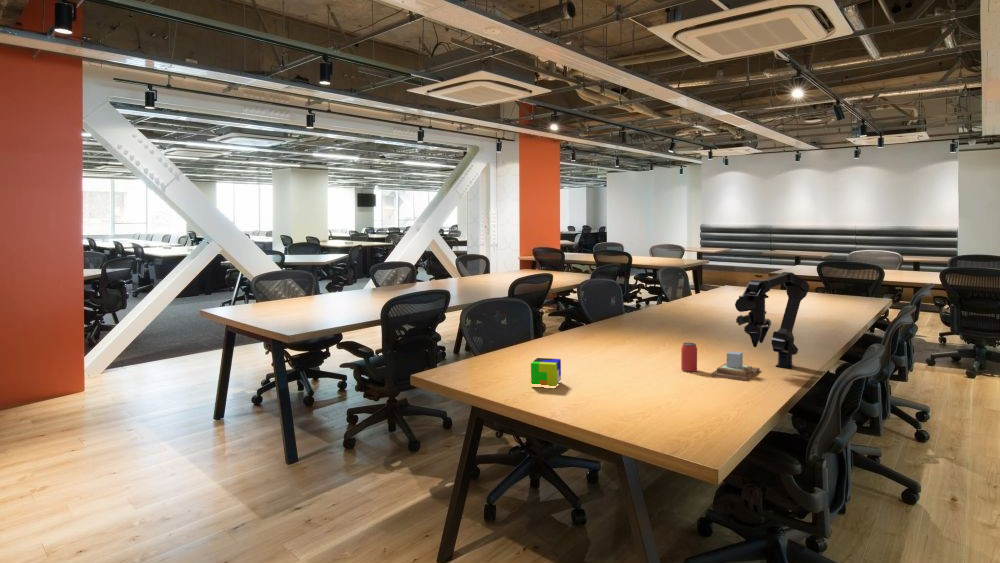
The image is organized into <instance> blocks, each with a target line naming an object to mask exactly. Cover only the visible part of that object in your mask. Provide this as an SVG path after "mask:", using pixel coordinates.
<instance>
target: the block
mask: <svg viewBox="0 0 1000 563" xmlns="http://www.w3.org/2000/svg"><path fill="white" fill-rule="evenodd" d="M743 354H744V353H743V352H741V351H732V350H729V351H728V352H727V353H726V363H727V367H729V368H737V369H739V368H741V367H742V366H743V365H744V364H743V361H744V360H743V358H744V356H743Z"/></svg>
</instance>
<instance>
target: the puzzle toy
mask: <svg viewBox="0 0 1000 563" xmlns="http://www.w3.org/2000/svg"><path fill="white" fill-rule="evenodd" d="M561 361H562V360H561V358H547V357H546V358H545V357H537V358H536V359H534V360H533V361H532V362H531V363H530V384H531V383H532V384H541V385H549V386H556V385H557V384H558V383H559V381H560V380H561V381H562V367H561V366H562V362H561Z"/></svg>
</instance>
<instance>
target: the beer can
mask: <svg viewBox="0 0 1000 563" xmlns="http://www.w3.org/2000/svg"><path fill="white" fill-rule="evenodd" d="M680 352H681V356H680V358H681V361H680V362H681V364H680V365H681V371H682V372H686V373H695V372H697V371H698V347H697V344H696V343H695V342H683V343H682V346H681V351H680Z"/></svg>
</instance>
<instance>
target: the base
mask: <svg viewBox="0 0 1000 563" xmlns="http://www.w3.org/2000/svg"><path fill="white" fill-rule="evenodd" d="M759 372H760V367H755V366H751V365H750V366H749V365H744V364H743V366H742V367H741V368H739V369H737V368H729V367H727V362H726V363H723V364H721V365H719V366H718V367H716V370H714V371H713V372H711V373H710V375H711V377H713V378H714V377H715V378H723V379H729V380H730V379H731V380H737V381H743V382H747V381H748V380H749V379H751V378H752V377H753V376H755V375H756V374H758V373H759Z"/></svg>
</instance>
